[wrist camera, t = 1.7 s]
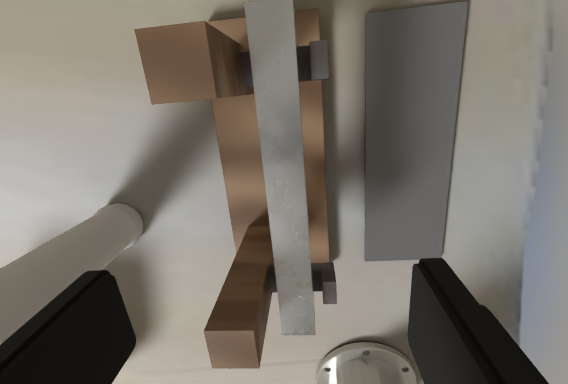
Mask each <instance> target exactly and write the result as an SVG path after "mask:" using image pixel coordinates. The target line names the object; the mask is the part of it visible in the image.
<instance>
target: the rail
mask: <svg viewBox="0 0 568 384" xmlns="http://www.w3.org/2000/svg"><path fill="white" fill-rule="evenodd" d="M244 8H245V16H246V25H247V33H248V42H249V51H250V59H251V68H252V77H253V85H254V94H255V102H256V111H257V120H258V128H259V137H260V146H261V154H262V163H263V171H264V180H265V189H266V197H267V206H268V215H269V223H270V232H271V240H272V249H273V258H274V266H275V275H276V284H277V292H278V301H279V309H280V318H281V327H282V335H315V310H314V295H313V280H312V265H311V250H310V235H309V220H308V205H307V190H306V175H305V160H304V145H303V130H302V115H301V100H300V85H299V70H298V55H297V40H296V25H295V10H294V3H293V0H258V1H250V2H244Z"/></svg>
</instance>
